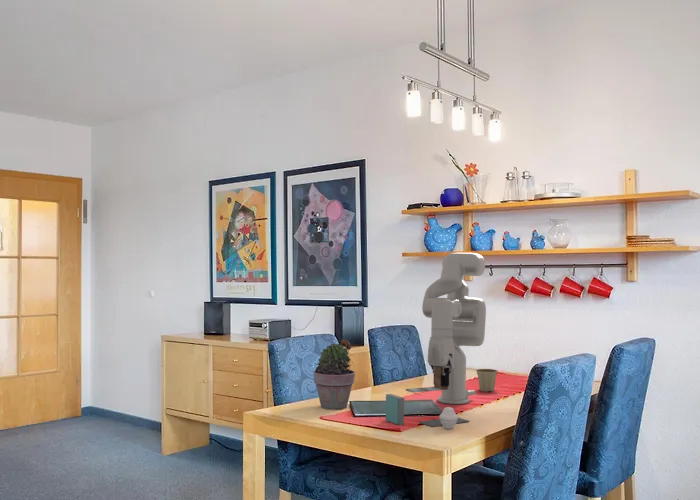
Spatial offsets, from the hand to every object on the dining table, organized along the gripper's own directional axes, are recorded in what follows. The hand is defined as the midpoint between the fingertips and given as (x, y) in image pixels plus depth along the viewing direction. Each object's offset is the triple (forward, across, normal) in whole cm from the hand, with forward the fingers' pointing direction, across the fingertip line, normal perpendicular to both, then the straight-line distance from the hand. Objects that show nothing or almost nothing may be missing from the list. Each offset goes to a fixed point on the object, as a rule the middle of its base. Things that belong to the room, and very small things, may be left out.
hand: (441, 384), depth 245 cm
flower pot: (+10, -32, +50) cm, 60 cm away
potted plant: (+11, -32, -26) cm, 43 cm away
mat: (+11, +7, -4) cm, 14 cm away
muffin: (+12, +14, -8) cm, 20 cm away
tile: (+12, -1, -19) cm, 23 cm away
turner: (+1, 0, -6) cm, 6 cm away
